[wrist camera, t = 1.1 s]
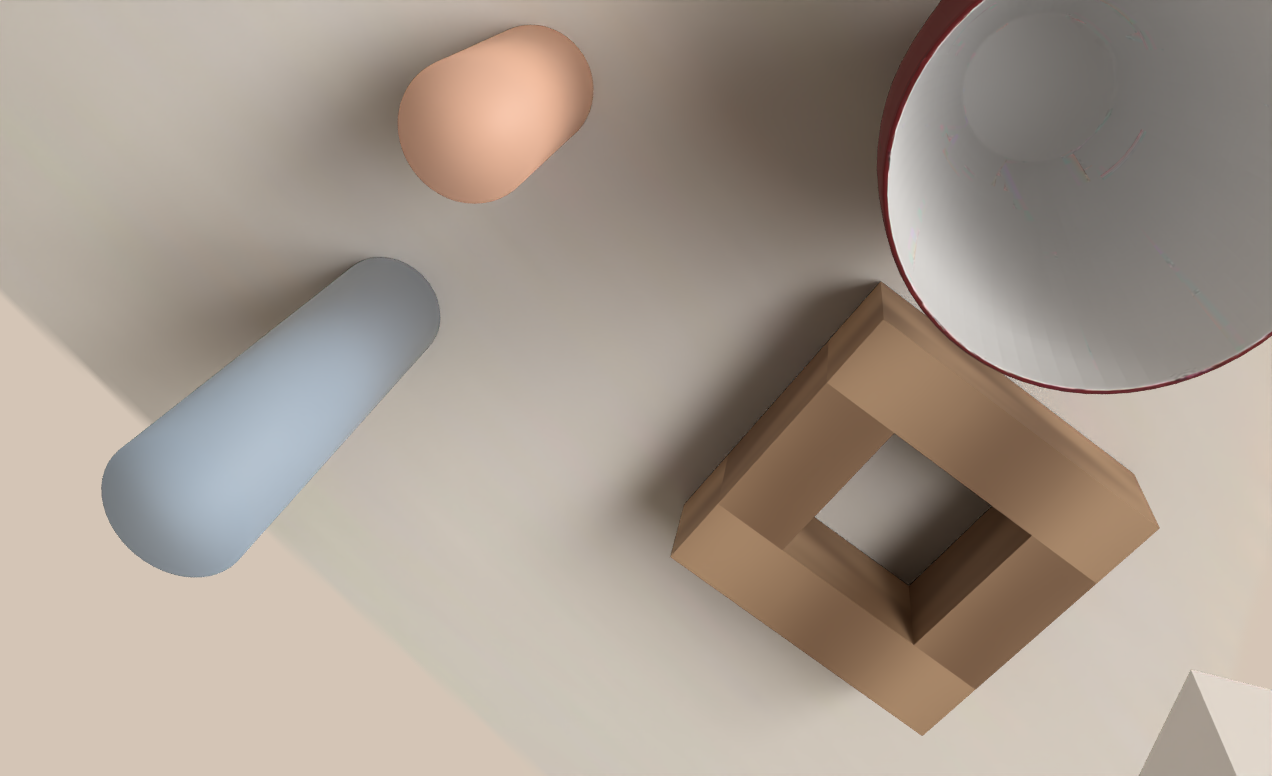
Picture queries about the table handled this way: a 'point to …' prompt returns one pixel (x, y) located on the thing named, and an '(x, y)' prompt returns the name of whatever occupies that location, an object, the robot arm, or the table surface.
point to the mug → (1086, 185)
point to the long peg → (267, 421)
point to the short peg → (494, 112)
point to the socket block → (967, 571)
